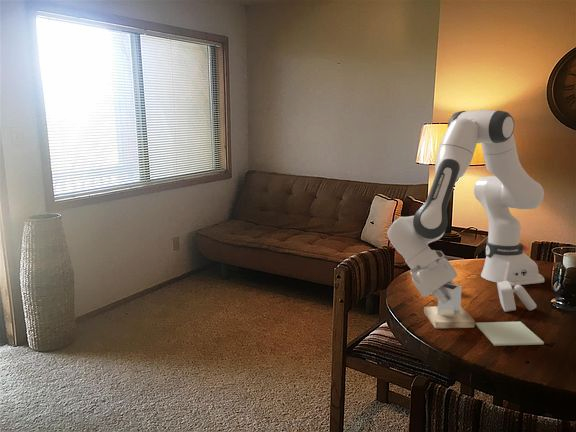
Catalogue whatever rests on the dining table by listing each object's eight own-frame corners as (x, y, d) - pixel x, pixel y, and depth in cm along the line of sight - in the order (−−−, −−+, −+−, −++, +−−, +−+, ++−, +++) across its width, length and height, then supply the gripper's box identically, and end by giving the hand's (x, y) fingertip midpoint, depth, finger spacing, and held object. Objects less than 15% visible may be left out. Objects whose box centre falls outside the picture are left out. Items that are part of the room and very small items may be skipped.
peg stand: (460, 311, 167) (462, 285, 165) (474, 327, 155) (476, 299, 153) (423, 312, 167) (425, 286, 165) (435, 328, 155) (436, 300, 153)
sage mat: (520, 323, 158) (520, 321, 157) (543, 344, 144) (543, 342, 144) (475, 324, 157) (475, 322, 157) (494, 345, 143) (494, 343, 143)
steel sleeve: (437, 314, 160) (438, 287, 158) (444, 309, 164) (445, 282, 162) (453, 318, 157) (455, 290, 155) (460, 313, 161) (461, 286, 159)
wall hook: (540, 313, 163) (535, 284, 161) (506, 318, 166) (501, 289, 164) (533, 303, 171) (528, 275, 169) (501, 308, 173) (496, 281, 172)
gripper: (415, 265, 153) (444, 303, 149) (443, 250, 169) (471, 284, 164) (401, 276, 157) (429, 314, 153) (430, 260, 172) (457, 294, 168)
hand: (451, 298), depth 159 cm, fingers open, 6 cm apart
